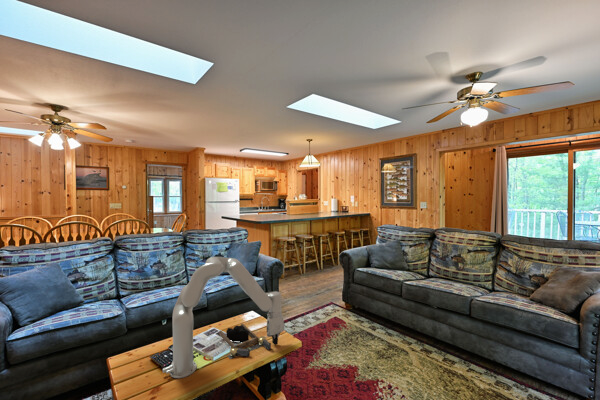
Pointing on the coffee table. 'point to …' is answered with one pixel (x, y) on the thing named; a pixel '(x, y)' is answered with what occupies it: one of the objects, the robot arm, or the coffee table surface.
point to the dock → (243, 344)
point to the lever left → (239, 352)
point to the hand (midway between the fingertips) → (275, 343)
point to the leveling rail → (248, 348)
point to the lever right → (264, 342)
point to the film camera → (238, 334)
